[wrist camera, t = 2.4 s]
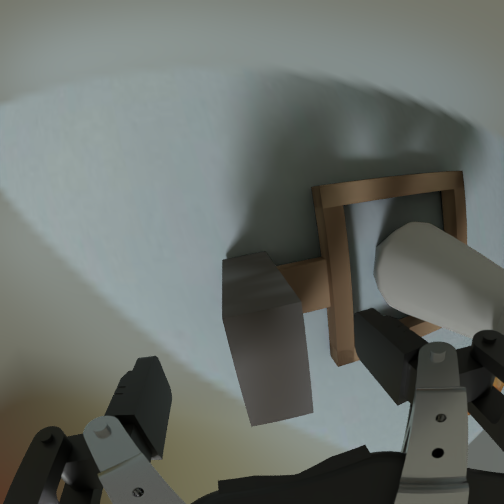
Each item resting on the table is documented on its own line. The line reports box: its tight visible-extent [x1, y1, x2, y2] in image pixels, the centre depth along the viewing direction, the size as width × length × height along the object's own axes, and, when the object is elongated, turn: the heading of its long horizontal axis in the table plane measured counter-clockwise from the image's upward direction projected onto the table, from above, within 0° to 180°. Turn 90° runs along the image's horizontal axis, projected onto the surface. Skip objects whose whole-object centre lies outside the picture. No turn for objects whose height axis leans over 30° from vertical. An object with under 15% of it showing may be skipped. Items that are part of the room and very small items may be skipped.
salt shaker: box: [373, 222, 504, 339], centre depth 12 cm, size 6×6×13 cm
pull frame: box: [222, 171, 467, 426], centre depth 14 cm, size 17×11×8 cm, turn 100°
